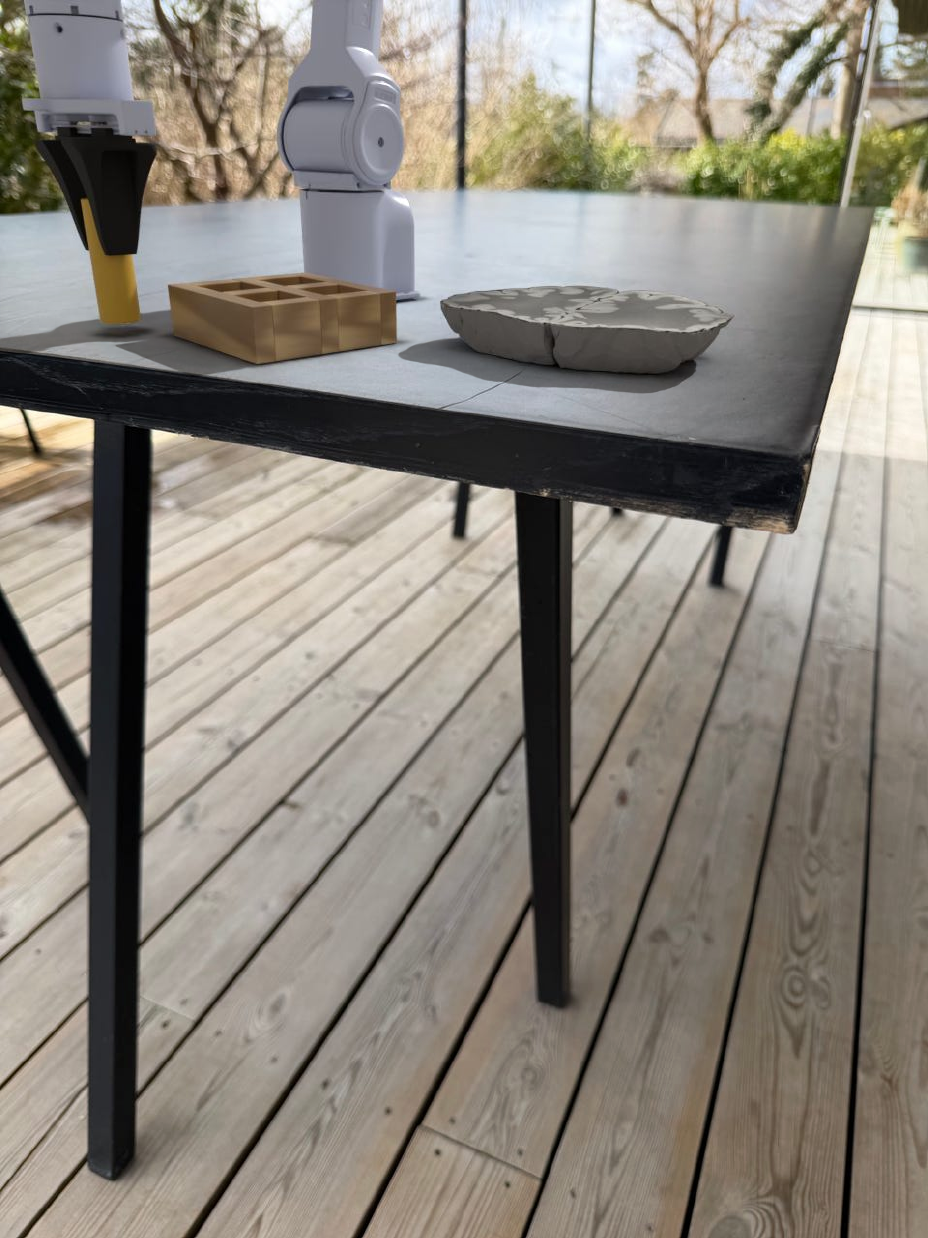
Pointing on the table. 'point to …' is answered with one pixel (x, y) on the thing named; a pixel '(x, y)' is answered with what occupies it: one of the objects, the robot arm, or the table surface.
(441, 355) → the table surface
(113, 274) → the yellow peg
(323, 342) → the stand
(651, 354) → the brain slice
